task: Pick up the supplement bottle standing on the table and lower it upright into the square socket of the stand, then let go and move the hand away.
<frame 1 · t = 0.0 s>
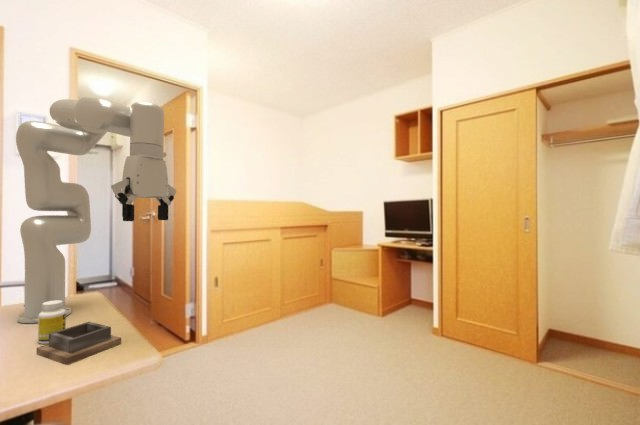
hand: (146, 220, 79), 31 cm above the table, tool pointing down, fingers open, 9 cm apart
supplement bottle: (52, 340, 80), on the table
socket stand: (80, 348, 76), on the table
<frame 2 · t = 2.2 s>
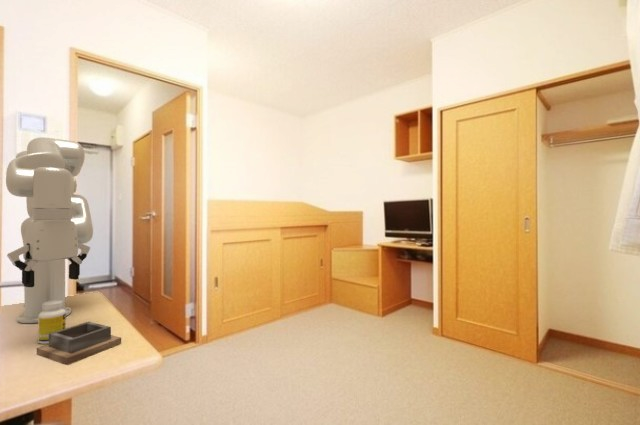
hand: (52, 282, 80), 15 cm above the table, tool pointing down, fingers open, 9 cm apart
nothing on the table moved.
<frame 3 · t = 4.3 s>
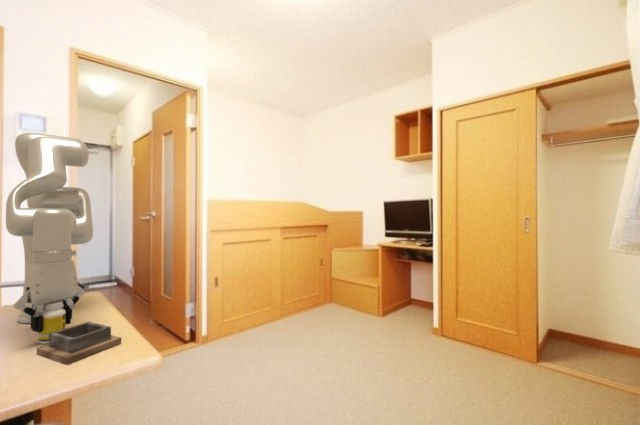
hand: (52, 326, 80), 4 cm above the table, tool pointing down, fingers closed on supplement bottle, 5 cm apart
supplement bottle: (52, 340, 80), on the table, touching gripper
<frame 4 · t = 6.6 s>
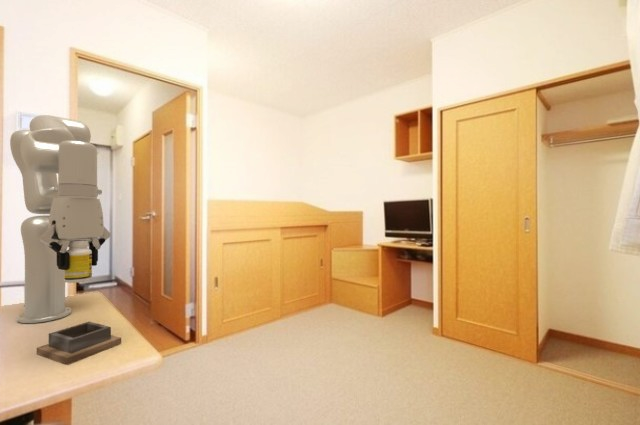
hand: (78, 266, 76), 20 cm above the table, tool pointing down, fingers closed on supplement bottle, 5 cm apart
supplement bottle: (78, 281, 76), point 16 cm above the table, touching gripper
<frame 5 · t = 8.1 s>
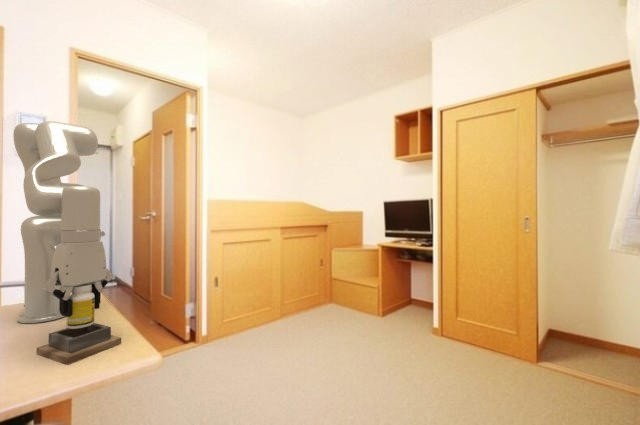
hand: (80, 311, 76), 9 cm above the table, tool pointing down, fingers closed on supplement bottle, 5 cm apart
supplement bottle: (80, 326, 76), point 5 cm above the table, touching gripper
when the fingers open (7 cm above the table, at t = 9.4 s): supplement bottle drops 2 cm, resting on socket stand.
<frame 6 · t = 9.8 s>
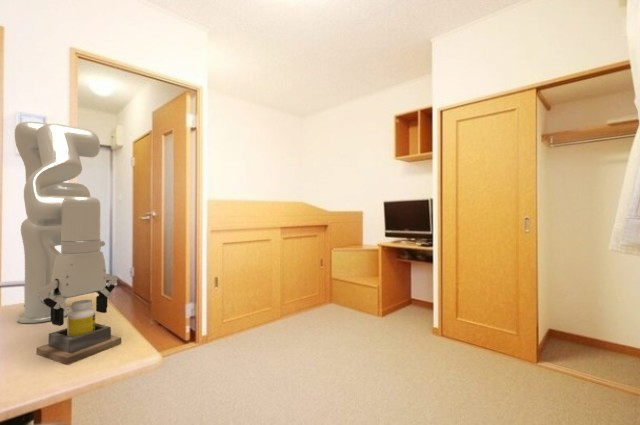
hand: (80, 318, 76), 7 cm above the table, tool pointing down, fingers open, 9 cm apart
supplement bottle: (81, 342, 76), point 1 cm above the table, touching socket stand
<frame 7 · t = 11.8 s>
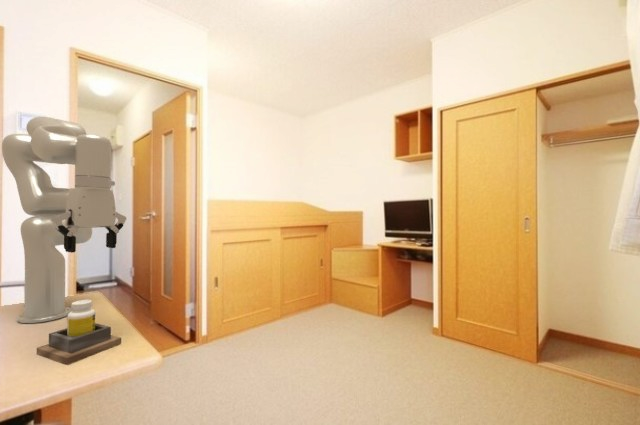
hand: (91, 249, 81), 23 cm above the table, tool pointing down, fingers open, 9 cm apart
nothing on the table moved.
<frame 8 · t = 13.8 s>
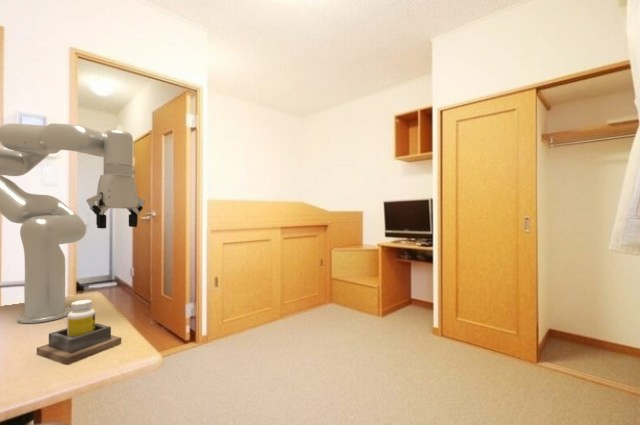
hand: (118, 227, 96), 28 cm above the table, tool pointing down, fingers open, 9 cm apart
nothing on the table moved.
at the end: supplement bottle 0.3 cm off-centre on the socket stand, point 1.3 cm above the socket stand's base; supplement bottle tilted 0°; the gripper is holding nothing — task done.
